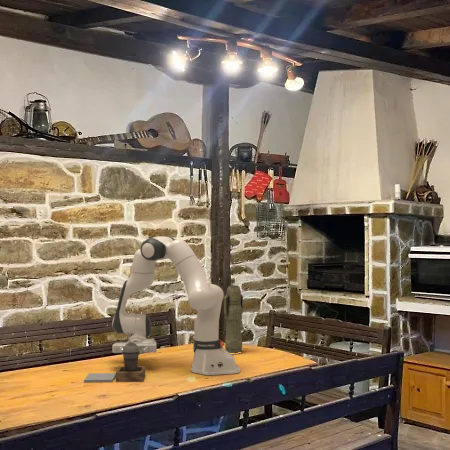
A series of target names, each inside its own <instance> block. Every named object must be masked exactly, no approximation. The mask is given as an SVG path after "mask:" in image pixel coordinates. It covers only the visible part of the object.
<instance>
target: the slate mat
mask: <svg viewBox="0 0 450 450" xmlns="http://www.w3.org/2000/svg"><path fill="white" fill-rule="evenodd" d="M113 380H114V381H115V380H116V372H99V373H97V372H95V373H93V372H92V373H91V372H90V373H88V374H87V375H86V377H85V378H84V380H83V383H113V382H114V381H113Z"/></svg>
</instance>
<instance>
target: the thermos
mask: <svg viewBox="0 0 450 450" xmlns="http://www.w3.org/2000/svg"><path fill="white" fill-rule="evenodd" d="M225 292H226V294H225V295H224V297H223V314H224V317H225V318H224V319H225V340H224V349H225V350H226V351H228V352H229V353H238V352H241V351H242V349H243V338H242V321H243V314H244V295H243V293H242V291H241V288H240V286H238V285H228V286H227V288H226V291H225ZM242 352H243V351H242Z"/></svg>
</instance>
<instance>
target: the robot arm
mask: <svg viewBox="0 0 450 450" xmlns="http://www.w3.org/2000/svg"><path fill="white" fill-rule="evenodd" d="M132 259H133V260H132V264H131V274H130V276H129V278H128V279H127V280H124V283H123V284H122V287H121V291H120V295H119V299H118V301H117V307H116V311H115V314H114V316H113V318H112V323H111V327H112V330H113V331H114V332H115V333H117V334H120V335H121V334H128V332H129V335H130V334H131V336H129V338H130V342H133V343H135V344H136V345H137V346H138V348H139V355H143V354H150V353H153V354H154V353H157V350H158V349H157V341H156V340H155V338H154V337H150V336H151V332H152V320H151V319H150V317H149V315H148V314H145V313H144V314H143V313H131V312H129V313H127V312H126V311H125V310H126V308H127V307H126V306H127V303H128V298H129V296H131V295H133V294H134V293H138V292H140V291H144V290H146V289H148V288H150V287H151V286H152V285H153V283H154V280H155V274H156V273H155V271H156V263H157V261H161V260H166V259H169V260H170V261H171V263H172V265H173V266H174V268H175V270H176V272H177V273H178V276H179V277H180V279H181V280H182V282H183V284H184V286H185V290H186V293H187V301H188V304H189V306H190V307H191V309H193V310H195V311H197V313H196V317H195V320H194V326H193V328H194V331H193V332H194V333H193V336H194V339H193V343H192V351H193V359H192V365H191V368H190V371H191V372H192V373H195V374H200V375H204V376H216V375H217V376H219V375H229V374H230V375H233V374H239V373H241V368H240V366H239V365H236V360H235V357H234V354H230V353H229V352H228V351H226V349H225V341H223V340H221V339H220V338H219V335H220V334H219V333H220V332H219V329H220V326H219V325H220V315H221V309H222V304H223V301H224V297H225V295H224V291H223V289H222V288H221V287H220V286H219V285H217V284H214V283H213V284H212V283H210V284H209V283H208V281H207V280H208V279H207V277H206V275H205V269H204V267H203V266H202V264H201V262H200V260H199V259H198V257H197V256H196V253H195V252H194V251H193V249H192V248H191V246H190V245H189V244H188V243H187V242H186V241H185V240H184V239H182V238H177V239H175V238H174V237H172V236H169V235H164V236H163V235H161V236H159V235H157V236H154V237H149V238H147V239H145V240H143V242H142V243H141V245H140V248H138V249H137V250H136V251H135V252H134V255H133V258H132ZM127 343H129V339H128V340H127V341H126V342H115V343H113V344H112V347H111V349H112V350H111V351H112V353H113V354H123V348H124V346H125V345H126V344H127Z"/></svg>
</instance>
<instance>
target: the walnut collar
mask: <svg viewBox="0 0 450 450" xmlns="http://www.w3.org/2000/svg"><path fill="white" fill-rule="evenodd" d="M115 373H116V377H115V383H131V382H132V383H135V382H136V383H137V382H139V383H140V382H142V383H143V382H144V381H145V377H146V365H139V366H138V365H137V372H125V368H124V365H122V366H118V368H117V370H116V371H115Z"/></svg>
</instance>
